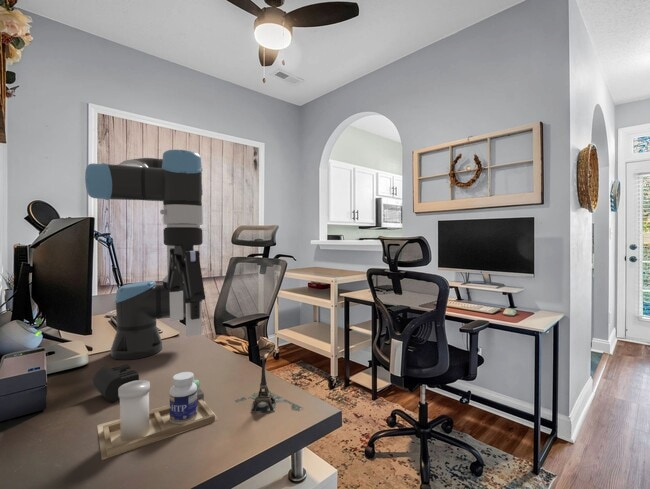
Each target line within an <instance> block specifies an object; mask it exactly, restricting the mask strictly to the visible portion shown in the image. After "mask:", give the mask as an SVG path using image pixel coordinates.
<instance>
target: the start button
mask: <svg viewBox="0 0 650 489" xmlns="http://www.w3.org/2000/svg"><path fill="white" fill-rule="evenodd" d="M193 383H195V384H196V385H197V390H198V389H199V388H200V380H199V379H194V381H193Z"/></svg>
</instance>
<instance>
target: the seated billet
mask: <svg viewBox="0 0 650 489" xmlns="http://www.w3.org/2000/svg"><path fill="white" fill-rule="evenodd" d="M150 391H151V382H150V381H149V380H147V379H139V380H136V381H131V382H128V383H125V384H123V385H122V386H120V387H119V388H118V396H119V398H120V401H119V419H120V438H121V440H122V441H127V442H128V441H133V440H136V439H139V438H142V437H144V436H146V435H147V434H148V433H149V430H150V429H149V410H150Z"/></svg>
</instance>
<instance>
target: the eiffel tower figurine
mask: <svg viewBox="0 0 650 489" xmlns="http://www.w3.org/2000/svg"><path fill="white" fill-rule="evenodd" d="M261 359H262V360H261V363H262V364H261V377H260V378H261V379H260V384H259V390H258V391H257V392H256V393H254V394H251V395H250V396H248V398H246V397H245V396H242V397H239V398H237V399H235V400H234V402H236V403H240V402H245V401H246V400H248V399H252V400H253V401H252V405H251V409H250V413H249V414H263V413H264V414H265V413H267V414H268V413H275V412H276V406H277V403H278V404H279V403H287V404H289V405H290V409H291V411H295V412H299V411H301V410H303V409H304V407H302V406H300V405H298V404H295V403H293V402H291V401H289V400H288V399H287V398H286V399H285V398H283V397H282V396H279V395H278V394H275V393H273V392H271V390H269V387H268V382H267V378H266V367H265V366H266V365H265V355H264V354H262V356H261Z"/></svg>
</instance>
